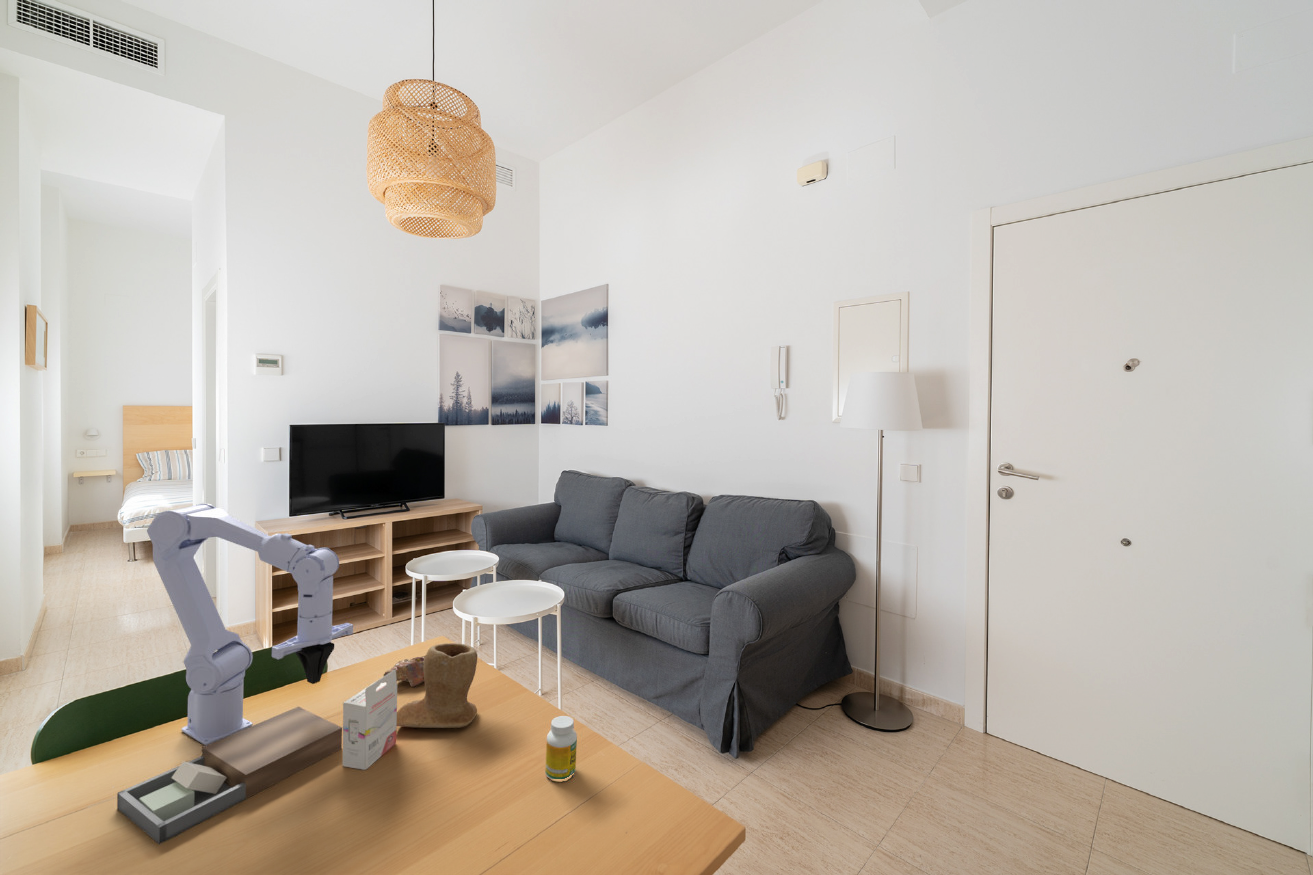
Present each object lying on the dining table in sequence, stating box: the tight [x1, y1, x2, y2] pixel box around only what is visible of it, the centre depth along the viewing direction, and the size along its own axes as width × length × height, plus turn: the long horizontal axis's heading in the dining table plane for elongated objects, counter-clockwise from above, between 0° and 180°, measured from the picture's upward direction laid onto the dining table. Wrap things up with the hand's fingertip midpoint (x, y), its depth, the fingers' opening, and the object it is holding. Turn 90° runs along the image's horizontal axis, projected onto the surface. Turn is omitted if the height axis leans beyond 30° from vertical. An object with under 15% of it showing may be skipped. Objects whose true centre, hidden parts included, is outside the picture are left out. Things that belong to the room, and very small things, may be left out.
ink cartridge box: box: [342, 670, 398, 771], centre depth 101 cm, size 9×5×15 cm, turn 168°
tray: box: [116, 755, 246, 845], centre depth 87 cm, size 14×11×2 cm
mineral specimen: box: [382, 655, 426, 688], centre depth 130 cm, size 12×8×7 cm, turn 160°
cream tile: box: [172, 760, 227, 794], centre depth 89 cm, size 5×5×2 cm
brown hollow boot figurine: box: [396, 642, 478, 729], centre depth 114 cm, size 15×12×15 cm
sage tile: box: [139, 782, 194, 821], centre depth 85 cm, size 5×5×2 cm
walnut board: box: [201, 706, 343, 800], centre depth 99 cm, size 14×16×4 cm
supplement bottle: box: [545, 715, 578, 779], centre depth 99 cm, size 5×5×10 cm
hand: (313, 681), depth 108 cm, fingers closed
